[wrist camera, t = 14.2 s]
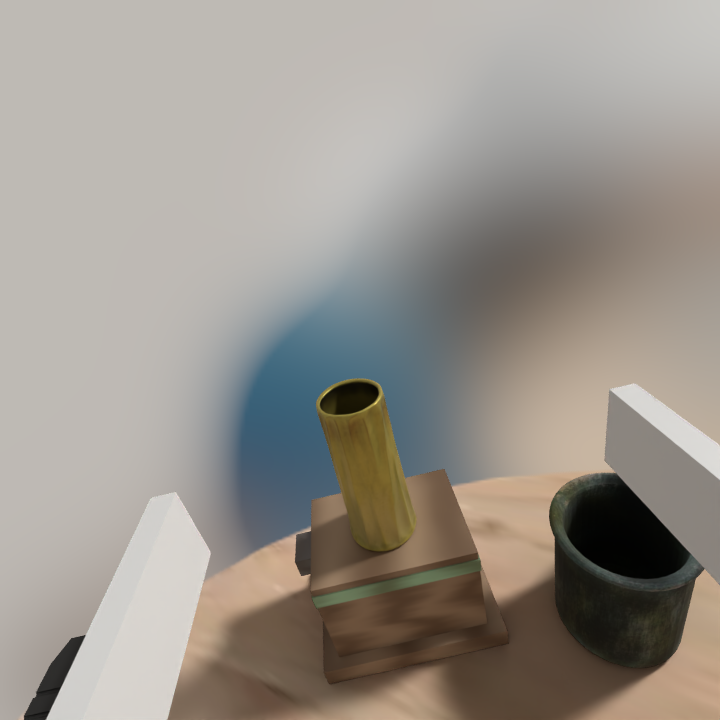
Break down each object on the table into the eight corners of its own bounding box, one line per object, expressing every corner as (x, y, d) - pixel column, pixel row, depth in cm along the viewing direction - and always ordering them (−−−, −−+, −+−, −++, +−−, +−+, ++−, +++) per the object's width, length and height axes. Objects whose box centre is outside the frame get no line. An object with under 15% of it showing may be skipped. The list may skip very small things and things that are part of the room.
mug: (534, 634, 39) (531, 549, 33) (574, 518, 48) (576, 437, 43) (681, 708, 32) (707, 617, 27) (694, 557, 42) (714, 467, 36)
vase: (423, 544, 36) (393, 409, 29) (353, 559, 36) (308, 428, 29) (410, 492, 41) (382, 368, 35) (349, 505, 41) (310, 384, 35)
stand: (466, 536, 49) (455, 459, 44) (508, 643, 39) (500, 559, 33) (325, 569, 50) (296, 496, 44) (328, 684, 39) (290, 607, 33)
